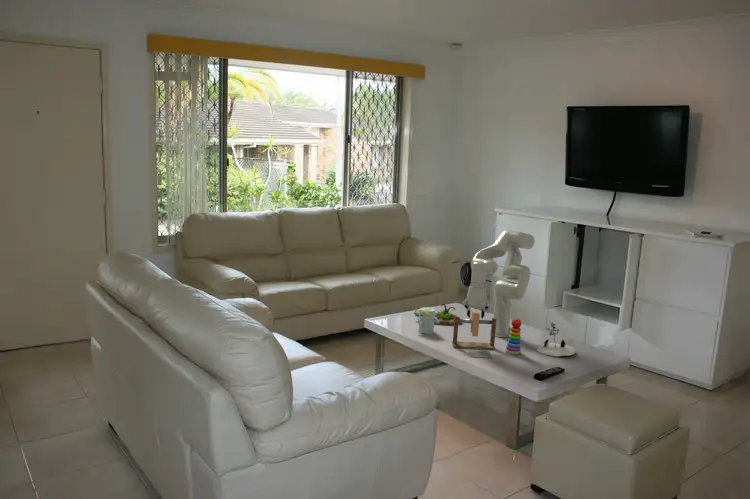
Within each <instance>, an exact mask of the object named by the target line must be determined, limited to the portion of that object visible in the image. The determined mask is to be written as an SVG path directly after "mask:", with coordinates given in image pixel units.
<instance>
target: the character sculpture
mask: <svg viewBox="0 0 750 499" xmlns="http://www.w3.org/2000/svg"><path fill="white" fill-rule="evenodd" d="M435 313H436V309H435V308H433V307H428V306H427V307H420V308H419V309H415V311H414V312H413V315H414V316H415V317H417V320H415V323H416V324H418V332H419V333H420V332H421V333H420V334H423V333H425V334H424V335H431V333H432V334H434V331H435V324H434V321H435V323H438V324H439V322H440V321H439V320H438V319H437V318H435Z"/></svg>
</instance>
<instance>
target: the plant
mask: <svg viewBox="0 0 750 499" xmlns="http://www.w3.org/2000/svg"><path fill="white" fill-rule="evenodd" d="M443 306H444V309H443V310H439V311H437V312H435V318H437V319H438V320H439V321H440V322H439V324H438V323H435V321H434V325H437V326H438V325H439V326H450V325H452V326H454V318H455V316H457V315H456V314H453V312H454V311H456V308H455V307H453V306H451V307H450V306H449V307H448V308H447V306H446V304H445V303H441V304H440V307H443ZM451 309H452V311H450V310H451ZM459 319H461V317H460V316H459ZM458 324H459V325H458V326H460V325H462V324H463V323H458Z"/></svg>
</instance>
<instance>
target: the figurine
mask: <svg viewBox="0 0 750 499" xmlns="http://www.w3.org/2000/svg"><path fill="white" fill-rule="evenodd" d="M555 325H556V323H554V322H550V327H552V329H550V328H549V327H547V328H546V331H549V336H553V339H554V342H549V339H546V340H545V341H544V342H543V344H542V345H540V346H538V347H537V349H536V352H538V353H540V354H543V355H546V356H552V357H553V356H554V357H562V356H564V357H565V356H572V355H575V351H576V350H575V349H574V347H573V346H571V345H567V343H566V342H565V340H564V339H562V340H561V341H560V342H559V343H556V336H555V335H557V334H558V333H559V331H560V330H559V328H557V327H556V326H555Z"/></svg>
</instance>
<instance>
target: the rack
mask: <svg viewBox="0 0 750 499" xmlns="http://www.w3.org/2000/svg"><path fill="white" fill-rule="evenodd" d="M459 317H460V316H458V315H456V316H455V318H454V325H453V335H452V341H451V344H452V347H453V349H464V350H465V349H467V350H487V351H495V350H496V346H495V338H496V336H495V330H496V318H493V317H492V318H491V319H490V320H487V319H479V325H482V324H483V325H491V327H490V330H491V334H490V339H489V340H490V341H489V342H477V341H476V342H475V341H459V340H458V334H459V332H458V331H459V325H458V323H462V324H471V323H473V320H472V319H471V318H460V319H459Z"/></svg>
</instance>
